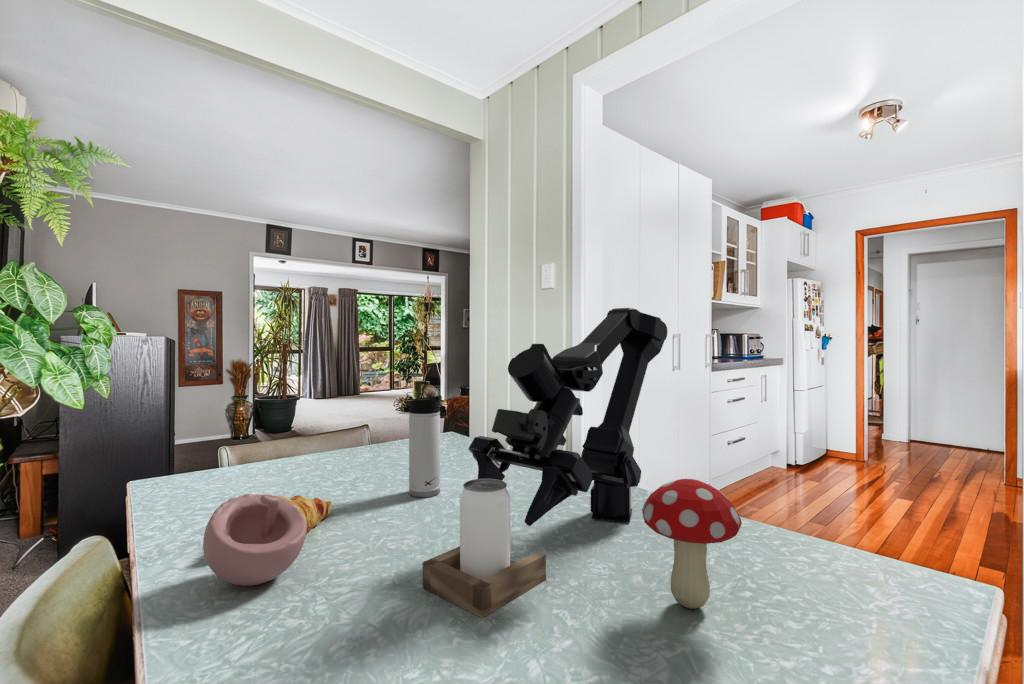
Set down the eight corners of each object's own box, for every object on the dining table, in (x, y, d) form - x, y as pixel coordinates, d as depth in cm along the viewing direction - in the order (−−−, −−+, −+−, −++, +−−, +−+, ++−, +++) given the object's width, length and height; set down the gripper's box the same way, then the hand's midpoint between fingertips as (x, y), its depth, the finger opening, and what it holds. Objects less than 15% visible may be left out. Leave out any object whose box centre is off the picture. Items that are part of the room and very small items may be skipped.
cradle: (487, 556, 73) (487, 534, 73) (545, 579, 66) (545, 554, 66) (422, 588, 64) (422, 562, 64) (482, 618, 57) (482, 589, 57)
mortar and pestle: (240, 614, 58) (240, 515, 58) (183, 589, 64) (182, 498, 63) (325, 572, 68) (325, 488, 68) (269, 553, 74) (269, 476, 74)
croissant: (318, 531, 92) (304, 490, 93) (356, 512, 88) (341, 470, 90) (204, 579, 72) (189, 526, 74) (247, 558, 69) (229, 502, 70)
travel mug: (435, 498, 99) (435, 397, 99) (404, 496, 100) (403, 397, 100) (445, 489, 105) (445, 394, 105) (416, 487, 107) (416, 393, 106)
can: (502, 562, 69) (502, 475, 69) (516, 584, 63) (516, 489, 63) (455, 569, 67) (455, 479, 67) (465, 592, 61) (465, 494, 61)
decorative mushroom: (647, 577, 66) (648, 464, 66) (739, 593, 62) (740, 473, 62) (634, 621, 56) (634, 487, 56) (743, 644, 52) (743, 500, 52)
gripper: (476, 383, 77) (420, 470, 68) (580, 391, 65) (527, 499, 56) (510, 426, 83) (463, 511, 75) (611, 441, 71) (567, 545, 63)
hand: (500, 515), depth 67 cm, fingers open, 9 cm apart
